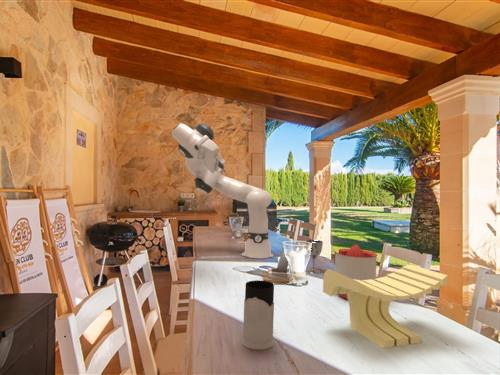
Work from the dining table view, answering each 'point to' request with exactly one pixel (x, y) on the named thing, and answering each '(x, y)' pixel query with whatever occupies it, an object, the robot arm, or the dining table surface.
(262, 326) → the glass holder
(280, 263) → the pipe elbow
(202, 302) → the dining table surface
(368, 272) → the citrus juicer
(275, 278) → the collar plate
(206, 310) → the dining table surface
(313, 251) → the wine glass
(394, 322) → the slatted curved stool
